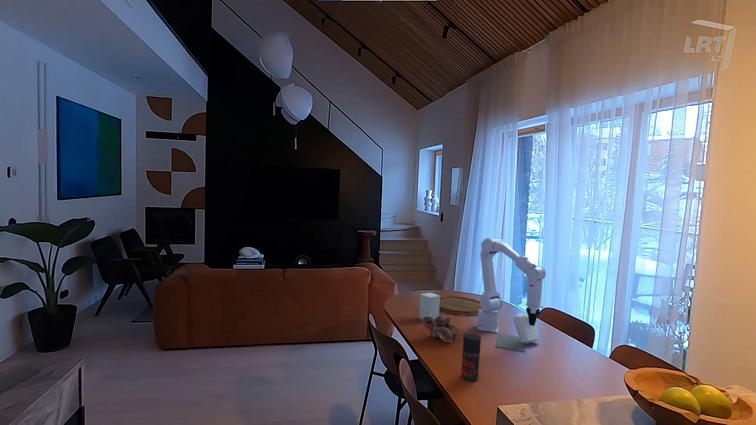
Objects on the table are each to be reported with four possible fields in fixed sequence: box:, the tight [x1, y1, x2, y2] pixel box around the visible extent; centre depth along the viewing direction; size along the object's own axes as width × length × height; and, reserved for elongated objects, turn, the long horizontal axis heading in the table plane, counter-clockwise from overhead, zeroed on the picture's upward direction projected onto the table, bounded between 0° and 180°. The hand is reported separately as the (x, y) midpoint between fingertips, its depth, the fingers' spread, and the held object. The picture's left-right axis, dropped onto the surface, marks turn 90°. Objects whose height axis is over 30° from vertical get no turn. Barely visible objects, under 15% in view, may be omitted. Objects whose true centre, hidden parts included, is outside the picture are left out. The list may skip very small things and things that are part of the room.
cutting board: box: [439, 295, 482, 317], centre depth 233 cm, size 32×32×2 cm
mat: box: [495, 333, 526, 353], centre depth 182 cm, size 12×17×1 cm
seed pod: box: [420, 313, 460, 344], centre depth 183 cm, size 13×16×15 cm
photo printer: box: [513, 313, 541, 344], centre depth 183 cm, size 10×4×12 cm
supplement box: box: [418, 292, 441, 320], centre depth 209 cm, size 7×7×13 cm
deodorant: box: [460, 333, 482, 383], centre depth 145 cm, size 6×6×15 cm
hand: (531, 325), depth 180 cm, fingers closed
